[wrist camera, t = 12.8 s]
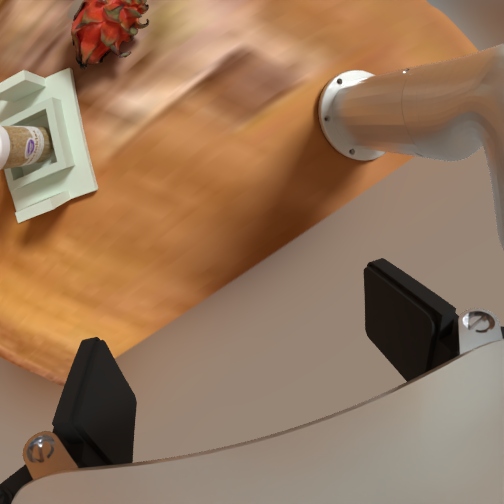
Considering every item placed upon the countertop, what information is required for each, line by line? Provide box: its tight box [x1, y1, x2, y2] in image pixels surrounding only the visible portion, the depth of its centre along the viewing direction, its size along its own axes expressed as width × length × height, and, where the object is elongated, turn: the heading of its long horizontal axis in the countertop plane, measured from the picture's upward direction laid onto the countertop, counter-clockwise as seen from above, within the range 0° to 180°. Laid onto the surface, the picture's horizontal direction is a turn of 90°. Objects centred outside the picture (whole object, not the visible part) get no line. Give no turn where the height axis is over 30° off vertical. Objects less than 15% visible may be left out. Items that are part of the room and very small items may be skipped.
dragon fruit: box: [71, 0, 149, 69], centre depth 26 cm, size 8×8×12 cm
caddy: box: [0, 68, 98, 223], centre depth 29 cm, size 12×16×7 cm
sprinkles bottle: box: [0, 125, 54, 170], centre depth 25 cm, size 5×5×13 cm
